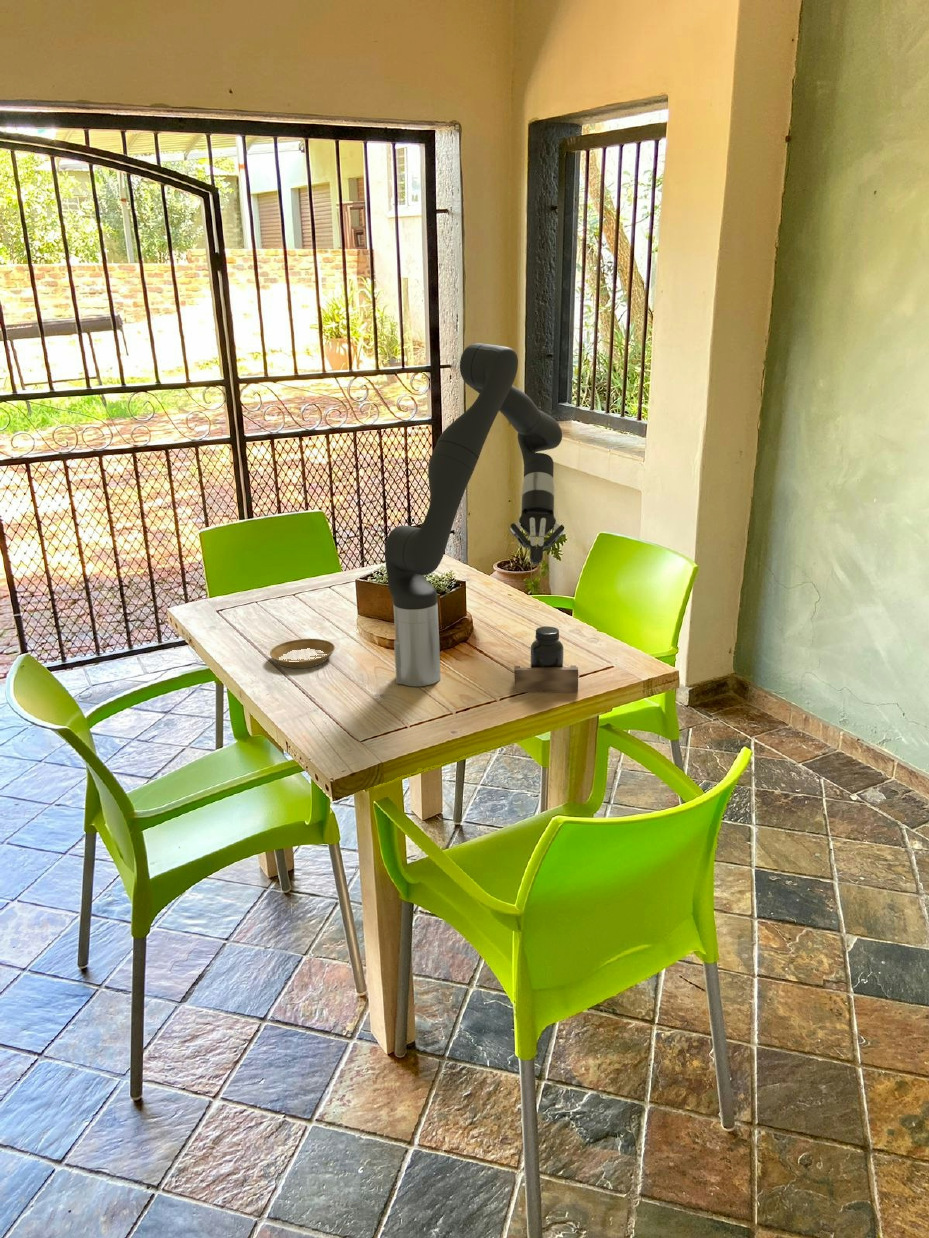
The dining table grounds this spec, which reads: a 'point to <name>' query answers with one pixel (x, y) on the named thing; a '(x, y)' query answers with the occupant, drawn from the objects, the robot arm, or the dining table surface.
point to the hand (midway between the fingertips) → (536, 563)
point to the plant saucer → (298, 645)
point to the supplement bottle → (546, 648)
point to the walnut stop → (546, 679)
